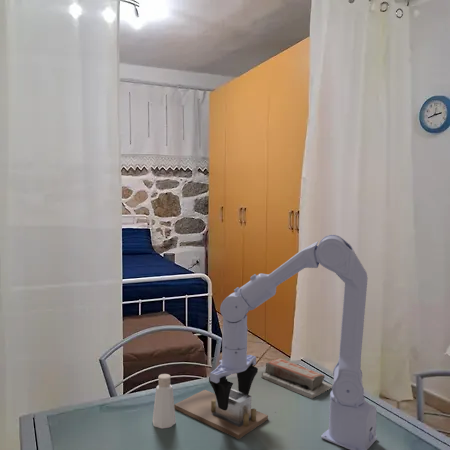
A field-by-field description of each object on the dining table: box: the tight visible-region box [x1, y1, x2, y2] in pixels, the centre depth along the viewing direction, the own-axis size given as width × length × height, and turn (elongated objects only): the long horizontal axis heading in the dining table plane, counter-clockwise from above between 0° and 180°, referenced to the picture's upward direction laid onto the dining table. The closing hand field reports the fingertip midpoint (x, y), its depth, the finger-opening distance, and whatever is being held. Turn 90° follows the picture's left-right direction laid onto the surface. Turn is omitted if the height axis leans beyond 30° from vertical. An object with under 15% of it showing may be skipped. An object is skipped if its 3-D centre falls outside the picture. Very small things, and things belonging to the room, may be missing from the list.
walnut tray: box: [174, 389, 269, 440], centre depth 104 cm, size 20×11×4 cm, turn 50°
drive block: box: [216, 387, 252, 424], centre depth 102 cm, size 7×4×5 cm, turn 50°
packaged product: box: [260, 357, 333, 400], centre depth 123 cm, size 18×5×10 cm
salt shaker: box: [152, 373, 177, 429], centre depth 100 cm, size 5×5×11 cm
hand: (233, 402), depth 102 cm, fingers open, 7 cm apart
